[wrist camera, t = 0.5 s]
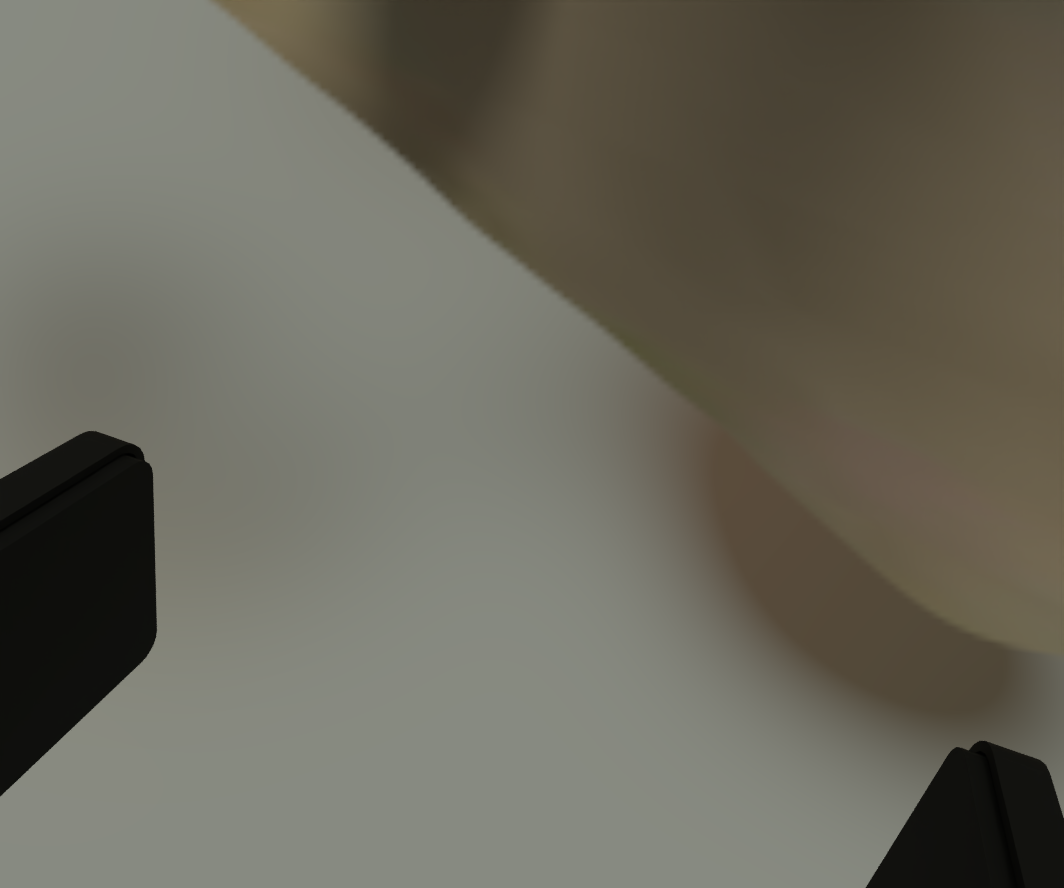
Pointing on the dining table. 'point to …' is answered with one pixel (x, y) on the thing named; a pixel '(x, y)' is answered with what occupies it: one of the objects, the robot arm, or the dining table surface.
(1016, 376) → the dining table surface
